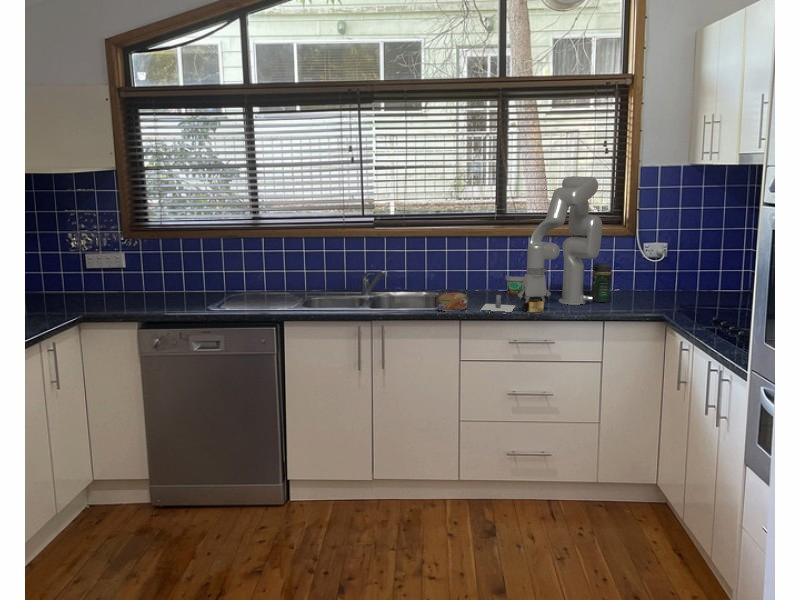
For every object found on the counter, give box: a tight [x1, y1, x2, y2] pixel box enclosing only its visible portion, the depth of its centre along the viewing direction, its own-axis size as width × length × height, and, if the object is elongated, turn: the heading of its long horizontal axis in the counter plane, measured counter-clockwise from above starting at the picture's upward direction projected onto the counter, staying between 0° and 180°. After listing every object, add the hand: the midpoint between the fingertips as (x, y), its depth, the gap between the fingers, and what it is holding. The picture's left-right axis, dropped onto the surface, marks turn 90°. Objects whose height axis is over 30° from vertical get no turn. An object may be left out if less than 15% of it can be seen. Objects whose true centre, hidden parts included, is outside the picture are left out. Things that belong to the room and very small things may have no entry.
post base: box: [480, 294, 516, 313], centre depth 316 cm, size 14×14×7 cm
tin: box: [435, 291, 470, 311], centre depth 314 cm, size 15×3×8 cm, turn 105°
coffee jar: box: [590, 262, 612, 303], centre depth 335 cm, size 10×8×19 cm
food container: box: [504, 275, 525, 297], centre depth 350 cm, size 12×6×10 cm, turn 73°
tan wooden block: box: [528, 299, 545, 312], centre depth 312 cm, size 6×6×5 cm
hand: (533, 310), depth 312 cm, fingers closed on tan wooden block, 6 cm apart
